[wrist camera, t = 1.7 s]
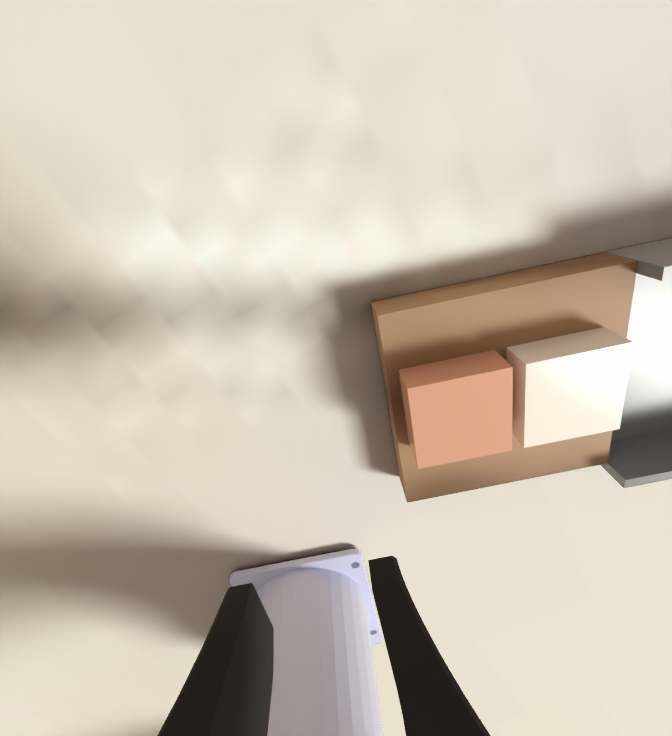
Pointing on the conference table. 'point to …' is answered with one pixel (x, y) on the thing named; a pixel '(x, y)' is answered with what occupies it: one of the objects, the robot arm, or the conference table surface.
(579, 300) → the walnut board
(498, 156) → the conference table surface
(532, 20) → the conference table surface
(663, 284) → the slate tray
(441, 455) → the terracotta tile
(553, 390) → the cream tile
